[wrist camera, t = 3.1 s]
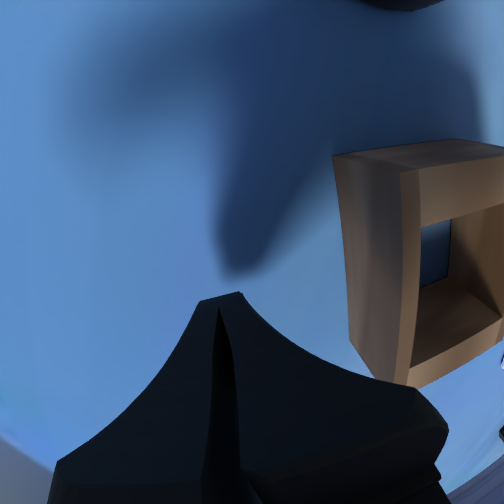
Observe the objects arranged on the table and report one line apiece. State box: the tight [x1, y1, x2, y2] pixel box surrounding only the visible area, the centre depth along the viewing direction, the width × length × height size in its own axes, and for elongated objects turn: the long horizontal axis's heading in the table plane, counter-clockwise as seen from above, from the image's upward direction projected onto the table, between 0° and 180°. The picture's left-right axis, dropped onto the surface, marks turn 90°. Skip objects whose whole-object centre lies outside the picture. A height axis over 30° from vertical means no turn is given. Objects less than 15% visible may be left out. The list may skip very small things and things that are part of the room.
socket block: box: [332, 139, 504, 389], centre depth 10 cm, size 6×8×4 cm
